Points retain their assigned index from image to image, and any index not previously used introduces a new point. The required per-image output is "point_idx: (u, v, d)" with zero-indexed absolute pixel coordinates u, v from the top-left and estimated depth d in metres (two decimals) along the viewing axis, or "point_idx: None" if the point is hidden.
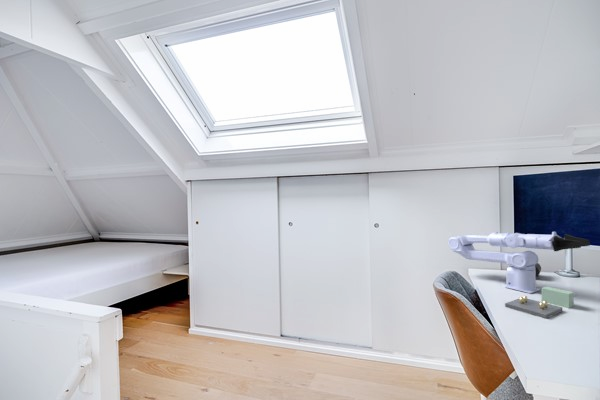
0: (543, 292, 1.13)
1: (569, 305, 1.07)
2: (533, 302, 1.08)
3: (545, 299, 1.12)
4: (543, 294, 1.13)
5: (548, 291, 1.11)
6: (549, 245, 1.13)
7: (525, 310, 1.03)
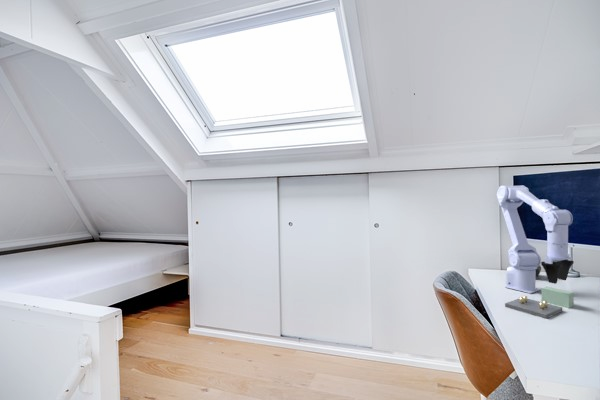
0: (543, 292, 1.13)
1: (569, 305, 1.07)
2: (533, 302, 1.08)
3: (545, 299, 1.12)
4: (543, 294, 1.13)
5: (548, 291, 1.11)
6: (546, 262, 1.07)
7: (525, 310, 1.03)
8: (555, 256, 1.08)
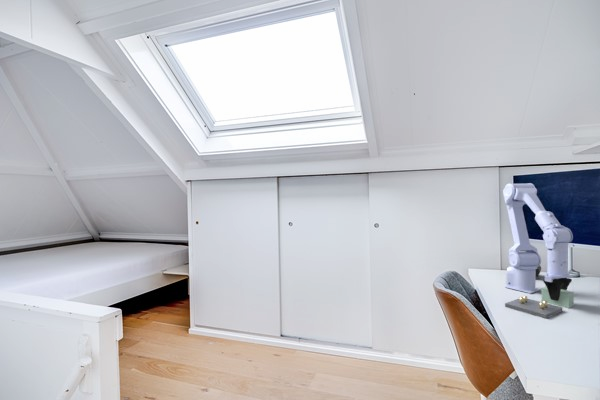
0: (543, 292, 1.13)
1: (569, 305, 1.07)
2: (533, 302, 1.08)
3: (545, 299, 1.12)
4: (543, 294, 1.13)
5: None
6: (546, 280, 1.07)
7: (525, 310, 1.03)
8: (555, 274, 1.09)
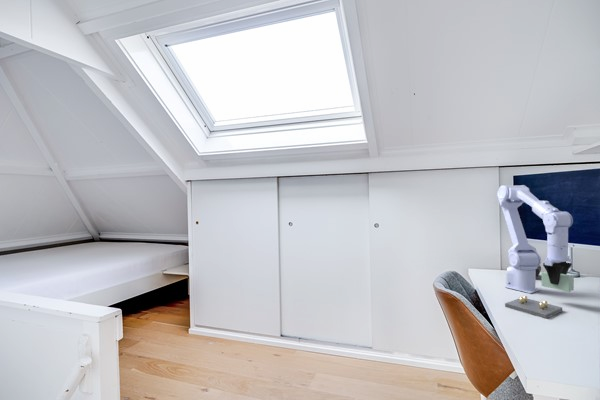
0: (543, 276, 1.12)
1: (569, 288, 1.06)
2: (533, 302, 1.08)
3: (545, 283, 1.12)
4: (543, 278, 1.12)
5: None
6: (546, 263, 1.07)
7: (525, 310, 1.03)
8: (555, 258, 1.09)
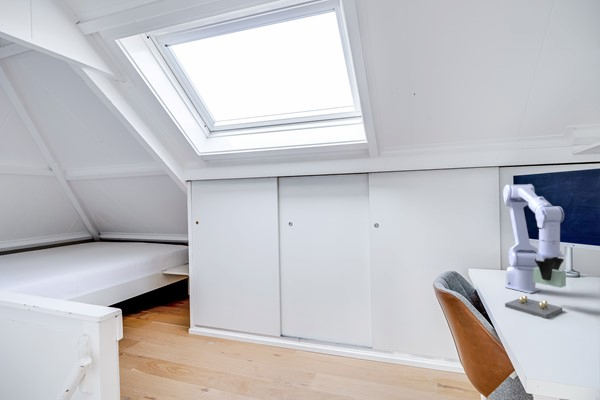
0: (535, 272, 1.11)
1: (561, 284, 1.05)
2: (533, 302, 1.08)
3: (537, 279, 1.10)
4: (535, 274, 1.11)
5: None
6: (538, 259, 1.05)
7: (525, 310, 1.03)
8: (547, 253, 1.07)
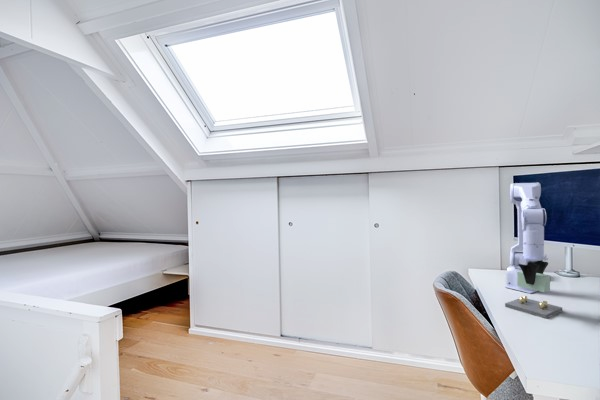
0: (519, 276, 1.08)
1: (545, 288, 1.02)
2: (533, 302, 1.08)
3: (521, 283, 1.07)
4: (519, 278, 1.08)
5: None
6: (521, 262, 1.02)
7: (525, 310, 1.03)
8: (530, 257, 1.04)
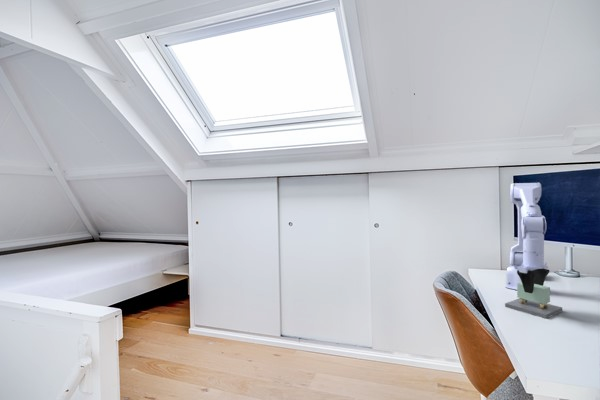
0: (519, 287, 1.08)
1: (545, 301, 1.02)
2: (533, 302, 1.08)
3: (521, 294, 1.07)
4: (519, 289, 1.08)
5: None
6: (521, 271, 1.02)
7: (525, 310, 1.03)
8: (530, 265, 1.04)
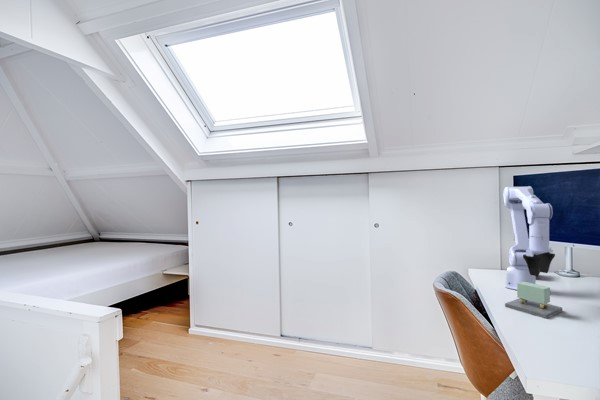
0: (519, 287, 1.08)
1: (545, 301, 1.02)
2: (533, 302, 1.08)
3: (521, 294, 1.07)
4: (519, 289, 1.08)
5: (524, 286, 1.06)
6: (528, 254, 1.09)
7: (525, 310, 1.03)
8: (536, 249, 1.10)
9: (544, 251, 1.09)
